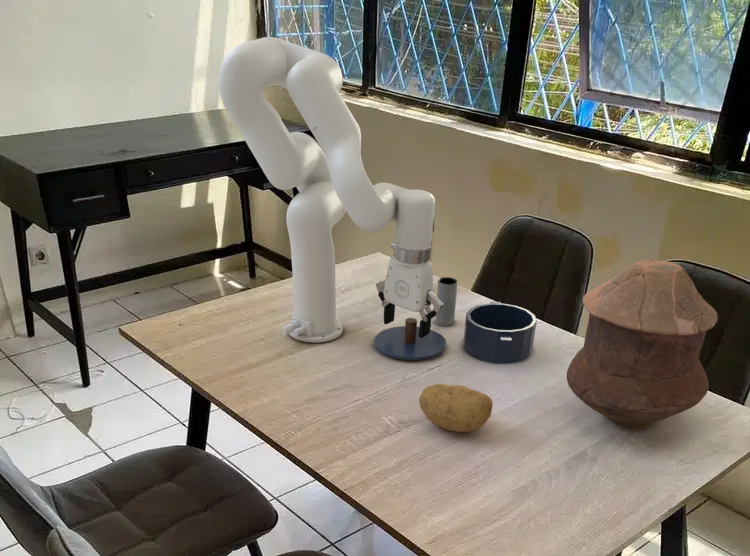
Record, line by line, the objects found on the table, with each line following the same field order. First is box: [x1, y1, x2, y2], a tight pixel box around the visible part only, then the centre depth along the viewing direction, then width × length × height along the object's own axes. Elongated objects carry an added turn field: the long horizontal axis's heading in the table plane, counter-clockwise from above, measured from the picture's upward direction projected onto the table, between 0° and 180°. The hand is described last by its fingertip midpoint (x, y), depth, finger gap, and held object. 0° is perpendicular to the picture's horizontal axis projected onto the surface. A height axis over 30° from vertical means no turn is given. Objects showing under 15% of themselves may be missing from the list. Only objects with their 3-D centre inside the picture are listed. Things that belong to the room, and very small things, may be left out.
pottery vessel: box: [566, 259, 719, 431], centre depth 142 cm, size 26×26×30 cm
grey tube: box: [434, 276, 459, 327], centre depth 182 cm, size 4×4×10 cm
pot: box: [463, 301, 537, 365], centre depth 172 cm, size 15×21×8 cm
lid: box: [373, 317, 447, 361], centre depth 173 cm, size 16×16×6 cm
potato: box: [418, 383, 494, 433], centre depth 144 cm, size 10×14×8 cm
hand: (406, 329), depth 172 cm, fingers open, 9 cm apart
